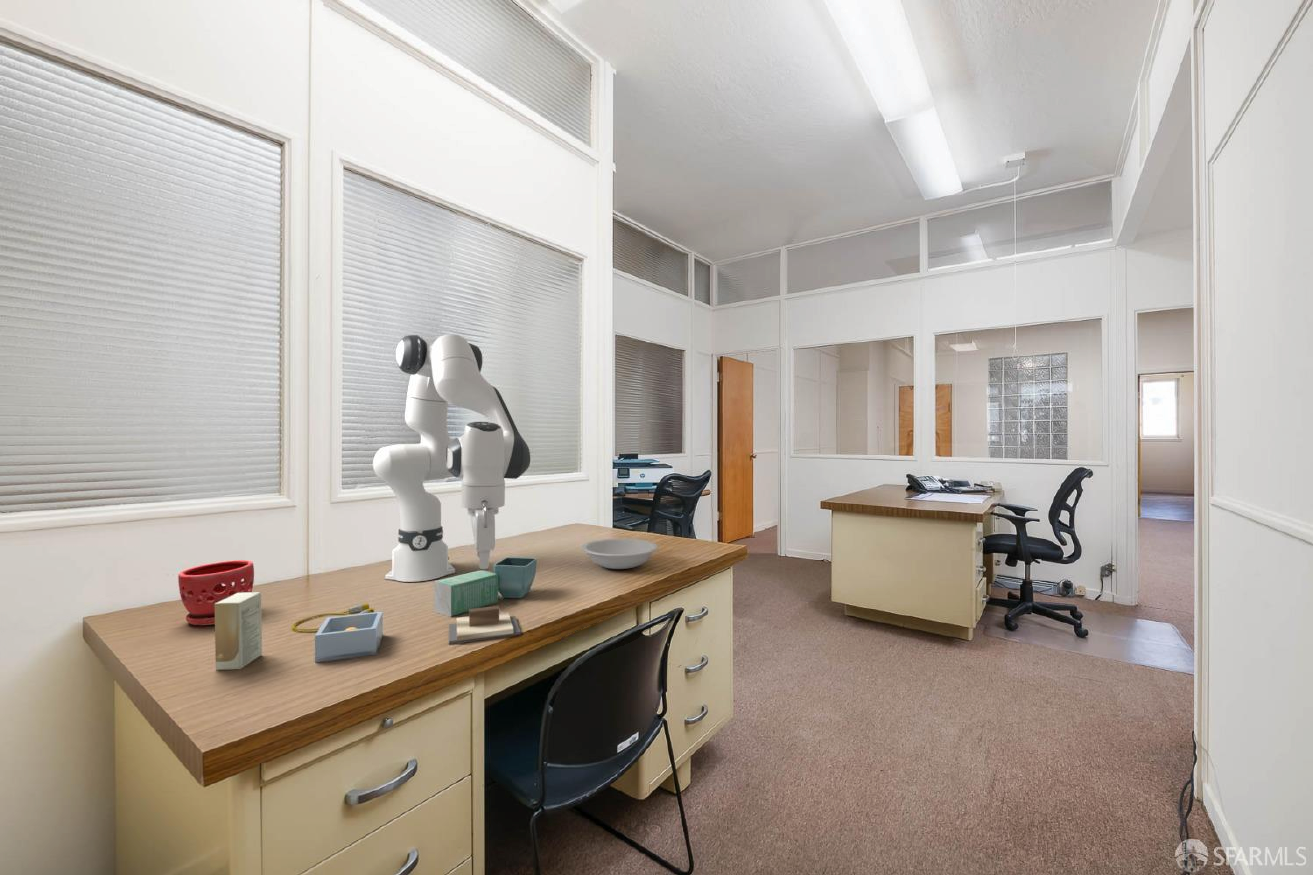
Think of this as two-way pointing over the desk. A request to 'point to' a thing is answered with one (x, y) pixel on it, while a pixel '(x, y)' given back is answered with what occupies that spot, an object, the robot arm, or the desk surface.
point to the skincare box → (238, 630)
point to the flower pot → (515, 576)
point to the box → (465, 592)
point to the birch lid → (483, 623)
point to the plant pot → (213, 587)
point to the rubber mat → (454, 637)
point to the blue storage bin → (349, 636)
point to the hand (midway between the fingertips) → (482, 562)
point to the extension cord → (359, 608)
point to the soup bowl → (619, 552)
